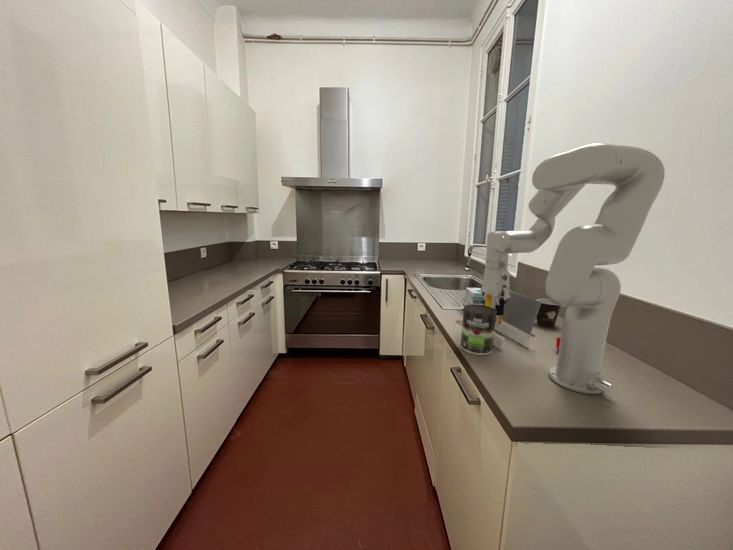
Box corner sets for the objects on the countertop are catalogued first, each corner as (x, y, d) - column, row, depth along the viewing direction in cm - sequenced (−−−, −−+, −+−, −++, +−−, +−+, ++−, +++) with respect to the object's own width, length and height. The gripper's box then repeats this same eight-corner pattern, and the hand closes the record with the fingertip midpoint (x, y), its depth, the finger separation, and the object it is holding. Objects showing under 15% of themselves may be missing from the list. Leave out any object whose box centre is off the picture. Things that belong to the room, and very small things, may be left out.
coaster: (483, 325, 121) (483, 324, 120) (463, 327, 119) (463, 326, 118) (471, 318, 129) (471, 317, 129) (452, 319, 127) (452, 319, 127)
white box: (533, 348, 100) (535, 334, 99) (503, 352, 97) (505, 337, 96) (490, 324, 122) (491, 312, 121) (465, 326, 119) (466, 314, 118)
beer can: (497, 321, 114) (500, 283, 112) (503, 326, 108) (506, 287, 106) (481, 321, 115) (484, 283, 112) (486, 326, 109) (489, 286, 106)
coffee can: (491, 358, 93) (496, 315, 90) (458, 351, 97) (461, 310, 94) (493, 345, 102) (497, 306, 99) (462, 340, 106) (465, 302, 104)
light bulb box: (486, 316, 132) (488, 293, 130) (471, 316, 132) (473, 293, 130) (478, 309, 143) (480, 287, 140) (464, 308, 143) (465, 287, 140)
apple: (570, 332, 101) (556, 327, 98) (589, 343, 95) (575, 338, 92) (558, 348, 103) (545, 344, 99) (576, 360, 97) (563, 356, 93)
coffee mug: (557, 323, 124) (561, 300, 122) (557, 330, 117) (561, 306, 115) (526, 318, 130) (529, 296, 128) (524, 324, 123) (527, 301, 121)
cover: (528, 334, 100) (530, 335, 101) (539, 301, 99) (542, 302, 99) (491, 315, 119) (494, 316, 119) (500, 287, 117) (503, 288, 118)
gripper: (522, 267, 100) (518, 318, 103) (490, 262, 117) (487, 306, 120) (503, 268, 99) (499, 320, 101) (473, 262, 115) (471, 307, 118)
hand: (493, 312), depth 111 cm, fingers closed on beer can, 6 cm apart
